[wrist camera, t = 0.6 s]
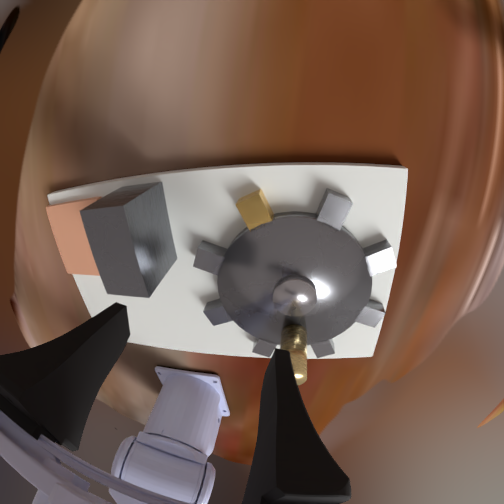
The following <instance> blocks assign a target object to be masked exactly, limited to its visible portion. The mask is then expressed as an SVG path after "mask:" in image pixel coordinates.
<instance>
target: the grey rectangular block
mask: <svg viewBox="0 0 504 504" xmlns="http://www.w3.org/2000/svg"><path fill="white" fill-rule="evenodd" d="M80 215H81V218H82V222H83V225H84V229H85V232H86V236H87V239H88V242H89V245H90V248H91V251H92V254H93V257H94V260H95V263H96V266H97V269H98V272H99V274H100V277H101V280H102V282H103V285H104V287H105V290H106V293H107V294H111V295H121V296H131V297H143V298H150V296H151V295H152V293H153V292H154V291H155V289H156V288H157V286H158V285H159V284H160V282H161V281H162V279H163V278H164V277H165V275H166V274H167V272H168V271H169V270H170V268H171V267H172V265H173V264H174V263H175V261H176V260H177V254H176V250H175V245H174V241H173V236H172V231H171V226H170V221H169V216H168V211H167V206H166V200H165V195H164V189H163V183H162V182H154V183H146V184H138V185H131V186H124V187H121V188H119V189H117V190H115V191H113V192H111V193H109V194H108V195H106V196H104V197H102V198H101V199H99V200H97V201H95V202H94V203H92V204H90V205H88V206H87V207H85V208H83V209H82V210H80Z"/></svg>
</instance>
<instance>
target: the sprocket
mask: <svg viewBox="0 0 504 504" xmlns="http://www.w3.org/2000/svg"><path fill="white" fill-rule="evenodd" d="M352 204H353V203H352V201H351V199H350V198H349V197H347V196H345V195H343V194H340V193H338V192H336V191H333V190H331V189H328V188H326V191H325V193H324V195H323V198H322V200H321V202H320V204H319V207H318V209H317V211H316V213H309V212H300V211H291V212H281V213H276V214H274V213H273V211H272V209H271V207H270V205H269V203H268V201H267V199H266V197H265V195H264V193H263V191H262V189H259V190H257V191H255V192H253V193H250V194H248V195H246V196H244V197H241V198H239V199H238V201H237V203H236V204H235V205H236V207H237V209H238V210H239V212H240V214H241V216H242V218H243V220H244V222H245V223H246V225H247V227H246V228H244V229H243V230H242V231H241V232H240V233H239V234H238V235H237V236H236V237H235V238H234V239H233V241H232V242H231V244H230V245H229V247H228V249H227V248H224V247H221V246H218V245H215V244H213V243H210V242H207V241H204V240H202V242H201V243H200V245H199V246H198V248H197V252H196V256H195V260H194V264H193V267H196V268H198V269H201V270H204V271H206V272H209V273H212V274H215V275H217V276H218V279H217V285H218V293H219V297H220V298H219V299H216V300H213V301H210V302H207V304H206V306H205V308H204V310H203V312H204V314H205V315H206V317H207V318H208V319H209V321H210V322H211V323H212V325H213V326H215V325H219V324H223V323H227V322H230V321H234V322H235V323H236V324H237V325H238V326H239V327H240V328H242V329H243V330H244V331H246V332H247V333H249V334H250V335H252V336H254V337H256V339H255V341H254V344H253V349H252V352H253V353H256V354H259V355H263V356H266V357H269V358H270V356H271V354H272V353H273V351H274V349H275V348H276V346H277V345H280V349H283V350H287V351H289V352H290V356H291V361H292V366H293V370H294V374H295V378H296V382H297V385H301V384H303V383H304V382H305V381H306V379H307V345H311V347H312V349H313V351H314V353H315V355H316V357H317V358H320V357H324V356H328V355H331V354H335V347H334V342H333V340H332V338H334V337H336V336H338V335H339V334H341V333H343V332H344V331H346V330H347V329H348V328H350V327H351V326H352V325H353V324H354V323H355V322H357V323H361V324H364V325H367V326H371V327H374V328H375V327H376V325H377V324H378V323H379V322H380V320H381V319H382V318H383V316H384V315H385V310H384V307H383V304H382V303H379V302H377V301H374V300H371V299H370V295H371V291H372V276H373V275H376V274H379V273H381V272H384V271H386V270H389V269H392V268H394V267H396V263H395V258H394V254H393V250H392V247H391V245H390V244H389V242H388V240H387V239H386V240H383V241H381V242H378V243H376V244H373V245H370V246H368V247H365V248H362V247H361V245H360V243H359V242H358V240H357V239H356V238H355V237H354V235H353V234H352V233H351V232H349V231H348V230H347V229H346V228H345V227H344V226H342V225H343V223H344V221H345V219H346V217H347V215H348V213H349V211H350V209H351V206H352Z"/></svg>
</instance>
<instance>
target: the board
mask: <svg viewBox="0 0 504 504" xmlns="http://www.w3.org/2000/svg"><path fill="white" fill-rule="evenodd" d="M407 177H408V169H407V168H405V167H404V166H398V165H383V164H365V163H332V162H294V163H261V164H242V165H227V166H214V167H203V168H193V169H183V170H174V171H166V172H158V173H151V174H144V175H137V176H131V177H124V178H118V179H113V180H107V181H102V182H96V183H91V184H86V185H81V186H76V187H72V188H67V189H63V190H58V191H54V192H52V193H50V194H48V195H47V196H48V200H49V204H50V205H49V206H47V207H46V210H47V214H48V218H49V221H50V224H51V228H52V231H53V234H54V237H55V240H56V243H57V246H58V249H59V252H60V254H61V257H62V260H63V263H64V265H65V268H66V270H67V273H68V274H73V276H74V279H75V281H76V284H77V286H78V288H79V291H80V293H81V295H82V298H83V300H84V302H85V304H86V306H87V309H88V311H89V313H90V315H91V317H94V316H95V315H97V314H98V313H100V312H101V311H103V310H105V309H106V308H108V307H109V306H111V305H112V304H114V303H115V302H117V303H120V304H123V305H126V306H127V313H128V321H129V328H130V337H129V339H128V341H127V342H130V343H136V344H141V345H147V346H154V347H160V348H167V349H174V350H182V351H190V352H199V353H208V354H219V355H231V356H245V357H263V358H269V357H266V356H263V355H259V354H256V353H253V352H252V349H253V344H254V341H255V339H256V337H254V336H252V335H250V334H249V333H247V332H246V331H244V330H243V329H242V328H240V327H239V326H238V325H237V324H236V323H235V322H234V321H230V322H227V323H223V324H219V325H215V326H213V325H212V323H211V322H210V321H209V319H208V318H207V317H206V315H205V314H204V312H203V310H204V308H205V306H206V304H207V302H210V301H213V300H216V299H219V298H220V297H219V293H218V285H217V279H218V276H217V275H215V274H212V273H209V272H206V271H204V270H201V269H198V268H196V267H193V264H194V260H195V256H196V252H197V248H198V246H199V245H200V243H201V242H202V240H204V241H207V242H210V243H213V244H215V245H218V246H221V247H224V248H227V249H228V247H229V245H230V244H231V242H232V241H233V239H234V238H235V237H236V236H237V235H238V234H239V233H240V232H241V231H242V230H243V229H244V228H246V227H247V225H246V223H245V222H244V220H243V218H242V216H241V214H240V212H239V210H238V209H237V207H236V205H235V204H236V203H237V201H238V199H239V198H241V197H244V196H246V195H248V194H250V193H253V192H255V191H257V190H259V189H262V191H263V193H264V195H265V197H266V199H267V201H268V203H269V205H270V207H271V209H272V211H273V213H274V214H276V213H281V212H291V211H300V212H309V213H316V211H317V209H318V207H319V204H320V202H321V200H322V198H323V195H324V193H325V191H326V188H328V189H331V190H333V191H336V192H338V193H340V194H343V195H345V196H347V197H349V198H350V199H351V201H352V203H353V204H352V206H351V209H350V211H349V213H348V215H347V217H346V219H345V221H344V223H343V225H342V226H344V227H345V228H346V229H347V230H348V231H349V232H351V233H352V234H353V235H354V237H355V238H356V239H357V240H358V242H359V243H360V245H361V247H362V248H365V247H368V246H370V245H373V244H376V243H378V242H381V241H383V240H386V239H387V240H388V242H389V244H390V245H391V247H392V250H393V254H394V258H395V263H396V261H397V256H398V250H399V245H400V238H401V232H402V225H403V217H404V209H405V200H406V189H407ZM154 182H162V183H163V189H164V195H165V200H166V206H167V211H168V216H169V221H170V226H171V231H172V236H173V241H174V245H175V250H176V254H177V260H176V261H175V263H174V264H173V265H172V267H171V268H170V270H169V271H168V272H167V274H166V275H165V277H164V278H163V279H162V281H161V282H160V284H159V285H158V286H157V288H156V289H155V291H154V292H153V293H152V295H151V296H150V298H143V297H131V296H121V295H111V294H107V293H106V290H105V287H104V285H103V282H102V280H101V277H100V274H99V272H98V269H97V266H96V263H95V260H94V257H93V254H92V251H91V248H90V245H89V242H88V239H87V236H86V232H85V229H84V225H83V222H82V218H81V215H80V210H82V209H83V208H85V207H87V206H88V205H90V204H92V203H94V202H95V201H97V200H99V199H101V198H102V197H104V196H106V195H108V194H109V193H111V192H113V191H115V190H117V189H119V188H121V187H124V186H131V185H138V184H146V183H154ZM394 272H395V267H394V268H392V269H389V270H386V271H384V272H381V273H379V274H376V275H373V276H372V291H371V295H370V299H371V300H374V301H377V302H379V303H382V304H383V307H384V310H385V311H386V307H387V303H388V299H389V295H390V290H391V286H392V281H393V277H394ZM383 318H384V316H383ZM383 318H382V319H381V320H380V322H379V323H378V324H377V325H376V327H375V328H374V327H371V326H367V325H364V324H361V323H357V322H355V323H354V324H353V325H352V326H351V327H350V328H348V329H347V330H346V331H344V332H343V333H341V334H339V335H338V336H336V337H334V338H332V340H333V342H334V347H335V354H331V355H328V356H324V357H320V358H317V357H316V355H315V353H314V351H313V349H312V347H311V345H307V359H321V358H355V357H372V355H373V352H374V349H375V346H376V343H377V339H378V336H379V333H380V329H381V326H382V322H383ZM276 348H278V349H280V345H277V346H276ZM274 350H275V349H274ZM273 353H274V351H273ZM273 353H272V354H271V356H270V358H272V355H273Z"/></svg>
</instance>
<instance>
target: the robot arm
mask: <svg viewBox="0 0 504 504" xmlns="http://www.w3.org/2000/svg"><path fill="white" fill-rule="evenodd" d="M129 337H130V328H129V321H128V313H127V306H126V305H123V304H120V303H117V302H115V303H114V304H112V305H111V306H109V307H108V308H106V309H105V310H103V311H101V312H100V313H98V314H97V315H95V316H94V317H92V318H91V319H89V320H88V321H86V322H85V323H83V324H81V325H80V326H78V327H76V328H75V329H73V330H71V331H69V332H68V333H66V334H64V335H62V336H60V337H58V338H56V339H54V340H52V341H49V342H47V343H44V344H42V345H39V346H36V347H33V348H30V349H27V350H24V351H20V352H15V353H10V354H5V355H0V455H1V456H2V457H3V458H4V459H5V460H6V461H7V462H8V463H9V464H10V465H11V466H12V467H13V468H14V469H15V470H16V471H17V472H19V473H20V474H21V475H22V476H23V477H24V478H25V479H27V480H28V481H29V482H30V483H31V484H32V485H34V486H35V487H36V488H37V489H38V491H37V493H36V496H35V498H34V500H33V502H32V504H111V503H109V502H108V501H105V500H103V499H101V498H99V497H97V496H95V495H93V494H91V493H90V492H88V488H89V486H90V484H89V483H88V482H87V481H85V480H83V479H82V478H80V477H79V476H77V475H76V474H74V473H73V472H71V471H70V470H68V469H66V468H65V467H63V466H62V465H61V462H60V461H62V462H63V463H65V464H67V465H68V466H70V467H72V468H73V469H75V470H77V471H79V472H80V473H82V474H84V475H85V476H87V477H89V478H91V479H93V480H95V481H97V482H99V483H101V484H103V485H105V486H107V487H109V493H110V494H111V496H112V497H113V498H114V500H115V501H116V503H117V504H207V503H208V500H209V498H210V495H211V492H212V488H213V484H214V479H215V469H214V467H213V466H212V464H211V463H208V462H206V461H207V457H208V456H209V455H210V454H211V453H212V451H213V449H214V445H215V441H216V437H217V433H218V430H219V426H220V422H221V418H222V416H229V415H230V412H229V408H228V405H227V402H226V398H225V395H224V392H223V388H222V385H221V381H220V378H219V376H218V375H215V374H207V373H199V372H191V371H184V370H178V369H171V368H165V367H160V366H156V367H155V371H156V373H157V375H158V377H159V379H160V381H161V383H162V385H163V386H162V389H161V391H160V393H159V396H158V398H157V400H156V402H155V405H154V407H153V409H152V412H151V414H150V416H149V419H148V421H147V424H146V426H145V428H144V431H143V432H141V431H140V432H139V434H138V436H137V437H135V436H130V437H128V438H126V439H124V440H123V442H122V443H121V445H120V447H119V449H118V451H117V453H116V455H115V458H114V461H113V465H112V470H111V474H109V473H107V472H104V471H102V470H100V469H98V468H97V467H95V466H93V465H91V464H89V463H87V462H85V461H83V460H81V459H80V458H78V457H76V456H75V455H73V454H71V453H70V452H68V451H66V450H65V449H63V448H62V447H60V446H58V445H57V444H55V442H56V443H58V444H59V445H63V446H65V447H66V448H68V449H69V450H71V451H76V450H78V449H79V445H80V441H81V437H82V433H83V430H84V427H85V423H86V420H87V418H88V415H89V412H90V410H91V407H92V405H93V402H94V400H95V398H96V396H97V393H98V391H99V389H100V387H101V385H102V384H103V382H104V380H105V379H106V377H107V375H108V374H109V372H110V371H111V369H112V367H113V366H114V364H115V363H116V361H117V360H118V358H119V356H120V355H121V353H122V352H123V349H124V347H125V345H126V343H127V341H128V339H129ZM350 498H351V486H350V480H349V478H348V476H347V475H346V474H345V473H344V472H343V471H342V469H341V468H340V467H339V466H338V464H337V463H336V462H335V461H334V459H333V458H332V456H331V455H330V453H329V452H328V450H327V449H326V447H325V445H324V444H323V442H322V441H321V439H320V437H319V435H318V434H317V432H316V430H315V428H314V426H313V424H312V422H311V420H310V417H309V415H308V413H307V410H306V408H305V405H304V403H303V400H302V397H301V394H300V391H299V388H298V385H297V382H296V378H295V374H294V370H293V366H292V361H291V356H290V352H289V351H287V350H283V349H278V348H275V350H274V353H273V355H272V358H271V360H270V363H269V365H268V367H267V370H266V372H265V376H264V381H263V386H262V391H261V401H260V414H259V426H258V436H257V442H256V447H255V452H254V457H253V461H252V466H251V470H250V475H249V479H248V483H247V487H246V491H245V494H244V498H243V501H242V504H340V503H343V502H346V501H348V500H349V499H350Z"/></svg>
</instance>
